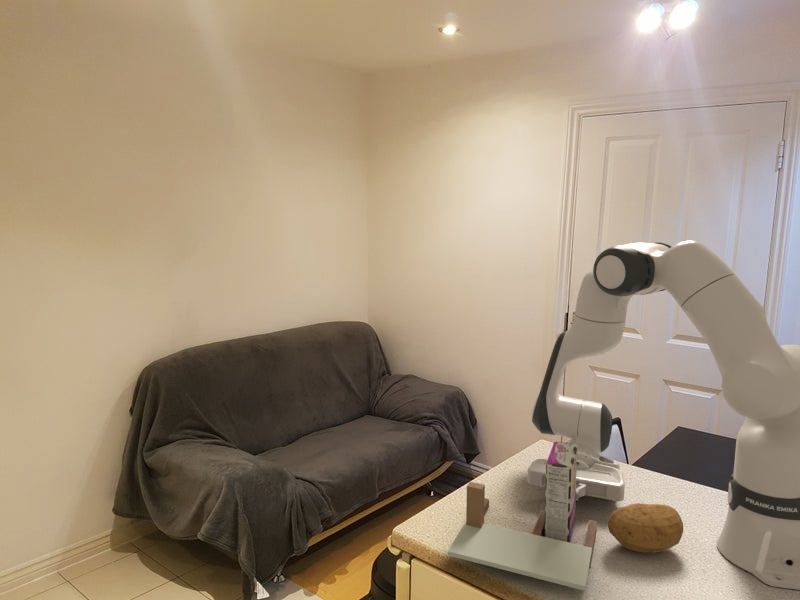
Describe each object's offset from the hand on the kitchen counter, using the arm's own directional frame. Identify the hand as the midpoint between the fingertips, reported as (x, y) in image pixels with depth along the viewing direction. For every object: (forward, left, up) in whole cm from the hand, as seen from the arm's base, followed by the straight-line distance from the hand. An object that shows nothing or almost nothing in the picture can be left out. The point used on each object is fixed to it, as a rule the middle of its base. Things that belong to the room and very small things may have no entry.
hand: (570, 495), depth 114 cm
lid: (+6, +20, -3) cm, 21 cm away
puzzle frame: (+6, +9, -5) cm, 12 cm away
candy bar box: (+1, +6, -5) cm, 8 cm away
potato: (-14, +5, -5) cm, 16 cm away
